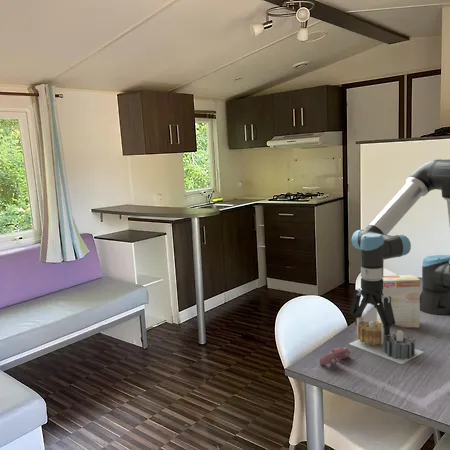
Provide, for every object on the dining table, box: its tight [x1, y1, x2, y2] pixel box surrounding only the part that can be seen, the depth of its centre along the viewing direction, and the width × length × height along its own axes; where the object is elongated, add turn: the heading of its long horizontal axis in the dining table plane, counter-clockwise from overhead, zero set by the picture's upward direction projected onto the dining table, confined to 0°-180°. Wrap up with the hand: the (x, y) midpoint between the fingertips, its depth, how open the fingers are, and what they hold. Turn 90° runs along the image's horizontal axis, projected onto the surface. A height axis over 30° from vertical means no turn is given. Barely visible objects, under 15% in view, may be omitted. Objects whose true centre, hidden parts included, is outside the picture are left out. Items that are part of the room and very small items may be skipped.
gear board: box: [349, 320, 424, 365], centre depth 158 cm, size 13×21×10 cm, turn 36°
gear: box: [384, 332, 416, 360], centre depth 154 cm, size 10×10×5 cm
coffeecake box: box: [376, 274, 421, 329], centre depth 180 cm, size 15×7×20 cm, turn 84°
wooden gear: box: [357, 320, 383, 345], centre depth 162 cm, size 10×10×5 cm
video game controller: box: [319, 346, 351, 366], centre depth 152 cm, size 10×5×7 cm, turn 119°
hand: (372, 338), depth 163 cm, fingers closed on wooden gear, 10 cm apart
